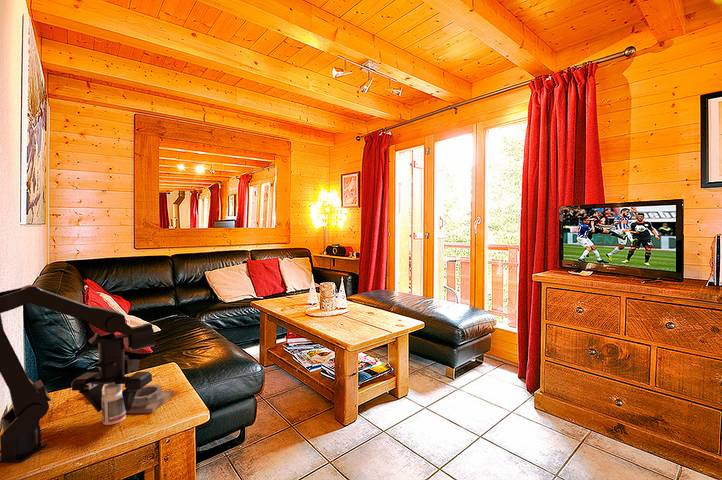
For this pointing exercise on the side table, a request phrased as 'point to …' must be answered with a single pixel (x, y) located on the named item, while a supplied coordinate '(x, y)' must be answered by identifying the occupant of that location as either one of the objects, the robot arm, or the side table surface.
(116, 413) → the pill bottle
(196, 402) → the side table surface
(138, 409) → the collar base
